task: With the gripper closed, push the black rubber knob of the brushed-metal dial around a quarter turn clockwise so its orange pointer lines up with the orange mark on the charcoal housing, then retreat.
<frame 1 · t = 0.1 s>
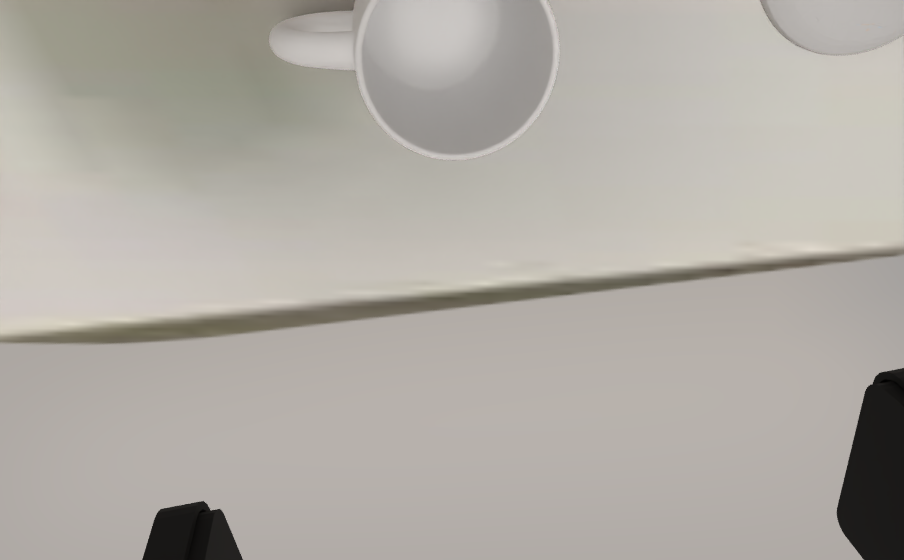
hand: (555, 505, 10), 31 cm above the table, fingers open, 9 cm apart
mug: (395, 19, 36), on the table
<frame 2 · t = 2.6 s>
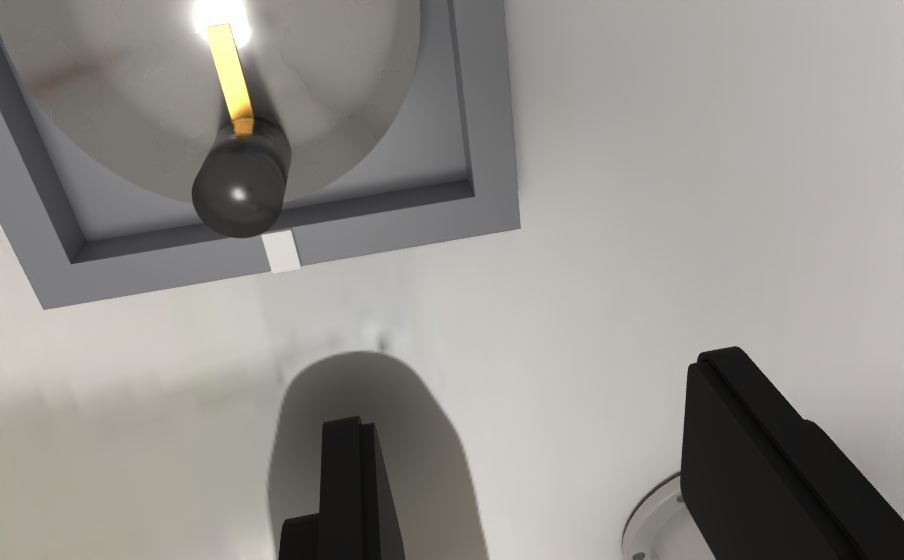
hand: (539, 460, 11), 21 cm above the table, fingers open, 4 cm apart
housing: (230, 4, 26), on the table
dial: (210, 25, 22), point 5 cm above the table, hinge at 0.0°
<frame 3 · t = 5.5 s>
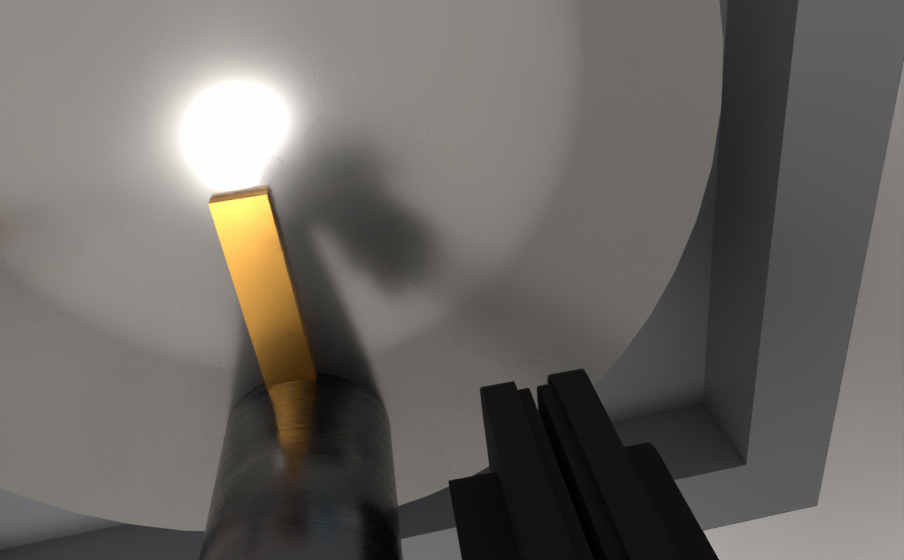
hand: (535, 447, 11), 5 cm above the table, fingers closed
housing: (260, 109, 12), on the table
dial: (222, 217, 8), point 5 cm above the table, hinge at 1.9°, touching gripper
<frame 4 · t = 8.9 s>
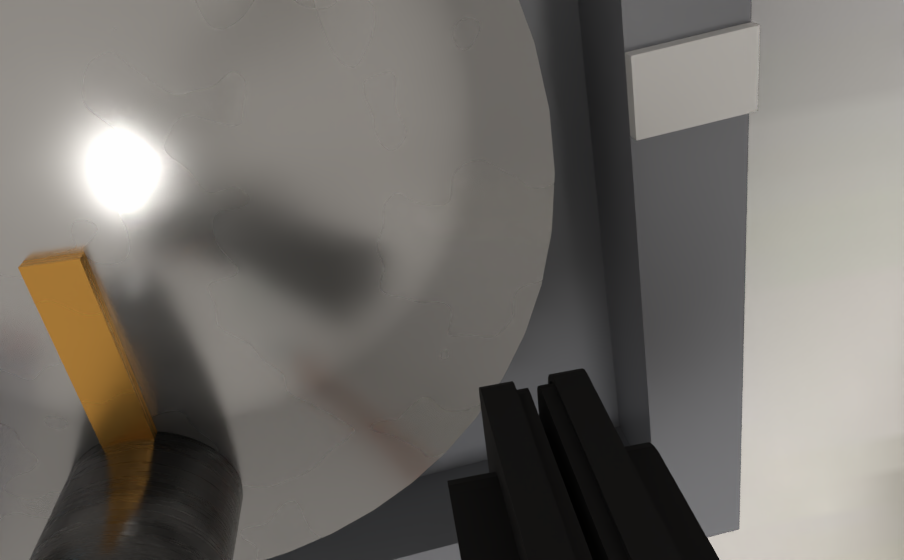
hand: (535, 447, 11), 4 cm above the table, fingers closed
housing: (120, 157, 12), on the table
dial: (9, 289, 8), point 5 cm above the table, hinge at 96.2°
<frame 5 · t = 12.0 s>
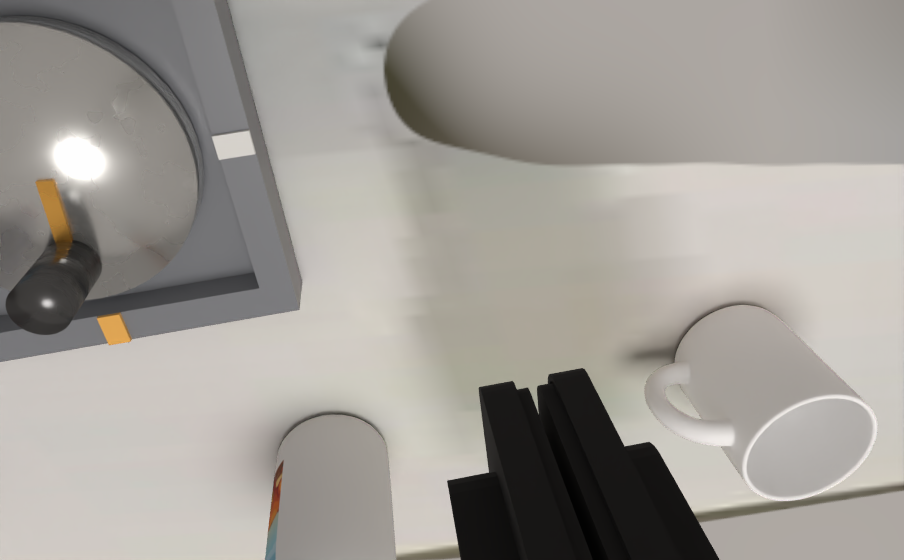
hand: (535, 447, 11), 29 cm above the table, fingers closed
housing: (69, 152, 36), on the table
mug: (699, 349, 49), on the table
dial: (34, 185, 32), point 5 cm above the table, hinge at 96.2°
milk bottle: (333, 450, 49), on the table
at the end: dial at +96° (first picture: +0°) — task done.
